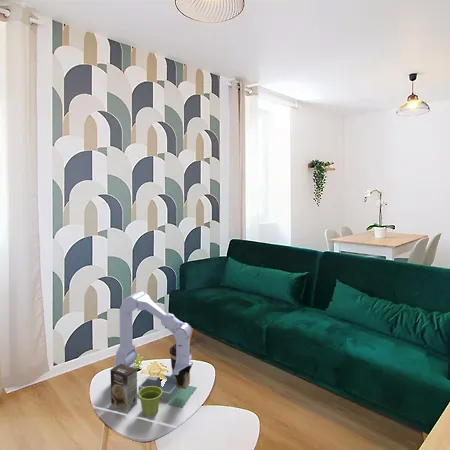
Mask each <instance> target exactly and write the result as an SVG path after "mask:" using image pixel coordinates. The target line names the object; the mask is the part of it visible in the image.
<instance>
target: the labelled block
mask: <svg viewBox="0 0 450 450" xmlns="http://www.w3.org/2000/svg"><path fill="white" fill-rule="evenodd" d="M190 376H191V373H190V372H186V374H185V377H184V383H183V386H179V385H178V383H177V379H176V387H178V388H179V389H180V388H183V389H186V388H187V386H190V384H191V382H190V381H191V380H190V379H191V377H190Z"/></svg>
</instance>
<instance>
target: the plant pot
mask: <svg viewBox="0 0 450 450" xmlns="http://www.w3.org/2000/svg"><path fill="white" fill-rule="evenodd" d="M161 395H162V390H161V389H160V388H159V387H156V386H148V387H144V388H142V389H141V390H140V391H139V390H138V392H137V397H138V398H139V399H140V404H141V410H142V412H141V413H142V415H144V416H146V417H153V416H156V414H158V412H159V408H160V407H159V406H160V400H161V398H160V397H161Z"/></svg>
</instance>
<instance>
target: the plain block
mask: <svg viewBox="0 0 450 450" xmlns="http://www.w3.org/2000/svg"><path fill="white" fill-rule="evenodd" d="M148 376H149V375H148ZM148 376H147V377H148ZM147 377H146V378H147ZM148 386H156V387H160V386H161V381H160V378H159V377H150V376H149V377H148V378H147V387H148Z"/></svg>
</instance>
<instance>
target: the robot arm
mask: <svg viewBox="0 0 450 450" xmlns="http://www.w3.org/2000/svg"><path fill="white" fill-rule="evenodd" d="M135 310H137V311H138V312H139V311H147V312H149V313H150V314H151V315H153V316H155V317H156V318H158V319H159V320H160V323H161V325H162V326H163V327H165V328H166V329H167V330H168V331H170V332H171V334H173V335H172V336H173V337H174V340H175V344H176V364H175V368H174V370H173V374H174V375H175V377H176V379H177V383H178V385H179V386H183V383H184V377H185V374H186V372H189V373H190V372H191V369H192V366H193V364H194V363H193V362H192V361H191V360H192V358H193V357H192V356H193V355H192V354H191V352H190V348H191V347H190V345H191V342H190V341H191V340H190V338H191V337H190V336H191V334H192V333H193V332H192V331H193V330H192V329H193V328H192V326H191V325H190V324H189V323H187V322H183V321H181V320H180V319H178V318H177V317H176V316H175V315H174V313H170V312H168V313H167V312H165V311H164V310H163V309H161V307H160V306H159V305H157V304H156V303H155V302H154V301H153V300H152V299H151V297H150V295H149V294H147V293H146V292H145V291H143V290H138V291H136V292H135V293H133V294H131V295H129V296H127V297H124V299H122V303H121V305H120V307H119V347H118V348H117V351H116V352H115V358H114V359H113V360H114V365H113V367H112V369H113V368H114V367H116V366H118V365H119V364H124V365H127V366H129V367H132V368H135V363H136V362H135V360H136V359H137V358H138V353H137V350H136V349H137V348H136V345H134V344H133V312H134V311H135ZM173 374H172V375H173ZM137 382H139V379H138V378H137Z"/></svg>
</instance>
